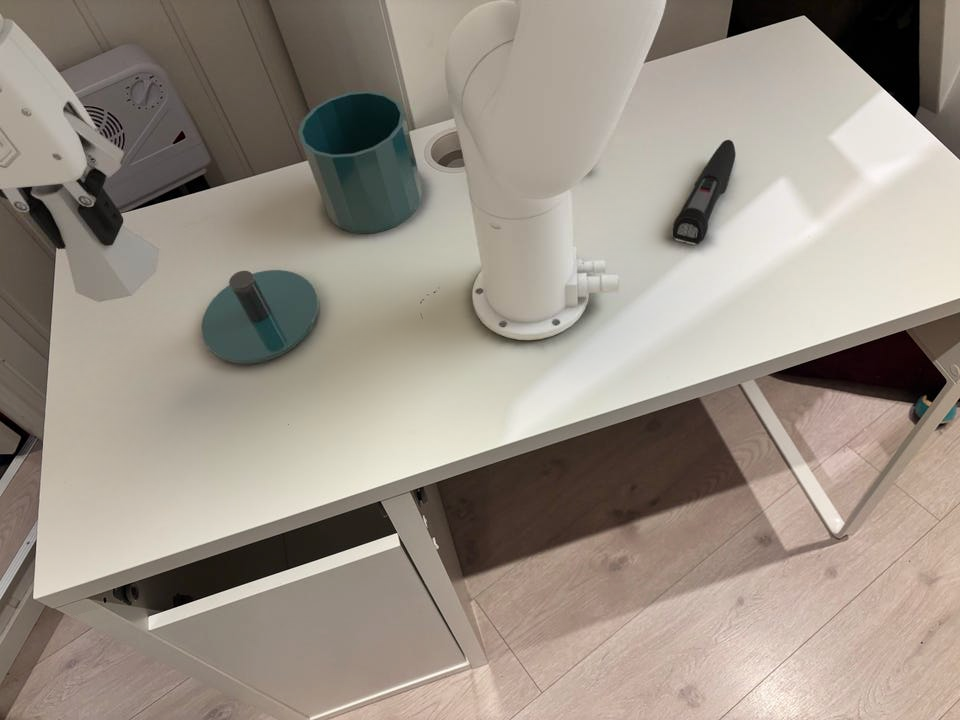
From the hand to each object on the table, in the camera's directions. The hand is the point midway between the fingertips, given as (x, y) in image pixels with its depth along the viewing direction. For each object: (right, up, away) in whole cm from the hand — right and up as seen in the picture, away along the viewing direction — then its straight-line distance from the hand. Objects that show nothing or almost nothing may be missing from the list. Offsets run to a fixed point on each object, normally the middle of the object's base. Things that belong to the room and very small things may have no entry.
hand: (91, 233), depth 61 cm
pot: (+18, +10, +33) cm, 39 cm away
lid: (+7, -5, +23) cm, 24 cm away
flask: (+1, -3, +4) cm, 5 cm away
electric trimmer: (+58, +8, +26) cm, 64 cm away
